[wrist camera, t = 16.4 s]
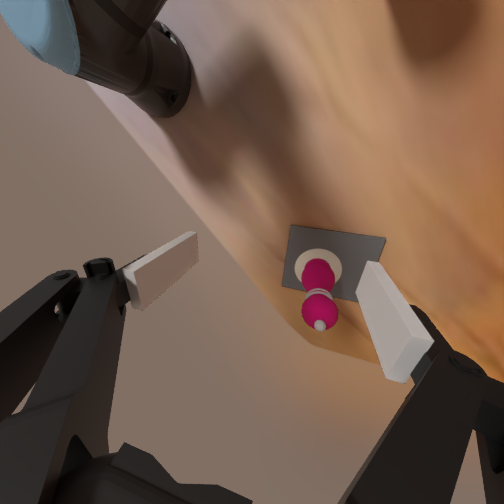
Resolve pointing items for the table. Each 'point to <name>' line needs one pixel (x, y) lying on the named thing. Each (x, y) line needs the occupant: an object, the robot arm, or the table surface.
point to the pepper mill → (319, 295)
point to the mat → (330, 257)
